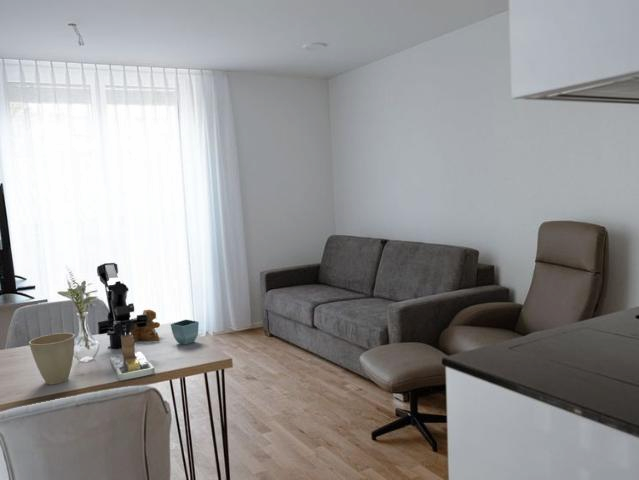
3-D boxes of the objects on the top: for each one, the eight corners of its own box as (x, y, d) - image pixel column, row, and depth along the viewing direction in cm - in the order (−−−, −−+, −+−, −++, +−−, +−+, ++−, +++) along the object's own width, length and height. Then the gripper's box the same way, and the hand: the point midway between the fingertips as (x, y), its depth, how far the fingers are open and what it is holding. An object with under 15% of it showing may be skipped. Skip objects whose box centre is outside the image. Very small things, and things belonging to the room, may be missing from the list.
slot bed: (110, 362, 221) (109, 357, 221) (141, 356, 226) (141, 351, 226) (116, 376, 205) (116, 370, 204) (150, 369, 210) (149, 363, 210)
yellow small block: (126, 369, 209) (126, 361, 208) (137, 367, 211) (137, 359, 210) (128, 373, 204) (128, 365, 204) (140, 370, 206) (139, 363, 206)
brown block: (123, 363, 216) (120, 335, 215) (134, 361, 218) (131, 333, 216) (126, 369, 209) (124, 340, 207) (137, 367, 211) (135, 338, 209)
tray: (116, 376, 205) (116, 368, 204) (150, 369, 210) (149, 361, 210) (120, 383, 197) (119, 375, 197) (154, 376, 202) (154, 368, 202)
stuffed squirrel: (160, 340, 250) (158, 311, 248) (127, 344, 246) (124, 314, 245) (161, 334, 259) (159, 306, 258) (129, 338, 256) (127, 309, 255)
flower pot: (184, 347, 237) (183, 326, 236) (171, 344, 242) (169, 324, 241) (200, 341, 244) (199, 321, 243) (187, 338, 249) (186, 319, 248)
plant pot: (85, 372, 211) (81, 331, 209) (69, 387, 196) (64, 343, 194) (45, 375, 210) (40, 333, 209) (26, 389, 196) (21, 345, 194)
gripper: (95, 301, 215) (101, 335, 206) (145, 294, 223) (152, 326, 215) (95, 317, 223) (101, 350, 214) (143, 309, 231) (150, 341, 222)
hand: (126, 342), depth 216 cm, fingers closed
